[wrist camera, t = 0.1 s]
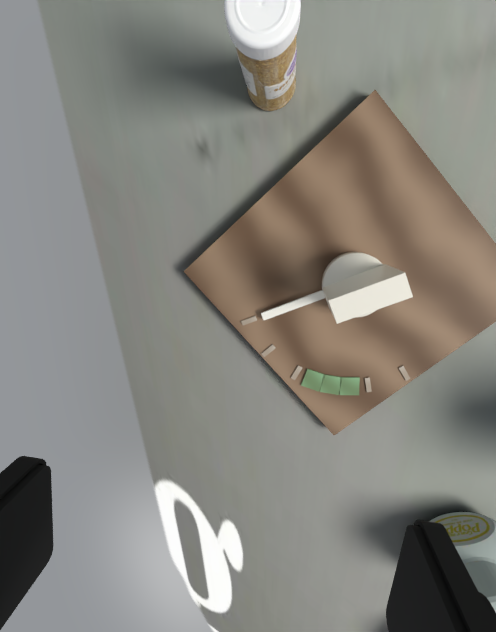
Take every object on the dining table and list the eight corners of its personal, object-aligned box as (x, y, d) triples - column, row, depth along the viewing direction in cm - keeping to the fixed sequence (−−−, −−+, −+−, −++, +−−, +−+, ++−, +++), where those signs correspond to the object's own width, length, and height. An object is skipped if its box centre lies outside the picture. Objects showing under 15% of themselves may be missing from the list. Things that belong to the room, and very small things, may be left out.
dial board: (371, 95, 34) (375, 88, 32) (525, 291, 37) (536, 294, 35) (187, 269, 40) (183, 271, 38) (332, 428, 42) (334, 436, 41)
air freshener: (414, 571, 46) (448, 664, 36) (399, 516, 44) (430, 598, 35) (509, 556, 44) (570, 650, 35) (496, 498, 43) (557, 579, 33)
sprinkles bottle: (292, 114, 35) (295, 50, 22) (244, 109, 35) (219, 44, 22) (299, 58, 34) (306, -43, 21) (249, 54, 34) (226, -48, 21)
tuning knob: (373, 242, 35) (397, 247, 28) (392, 300, 37) (420, 320, 29) (251, 289, 38) (242, 306, 30) (273, 342, 39) (269, 372, 31)
